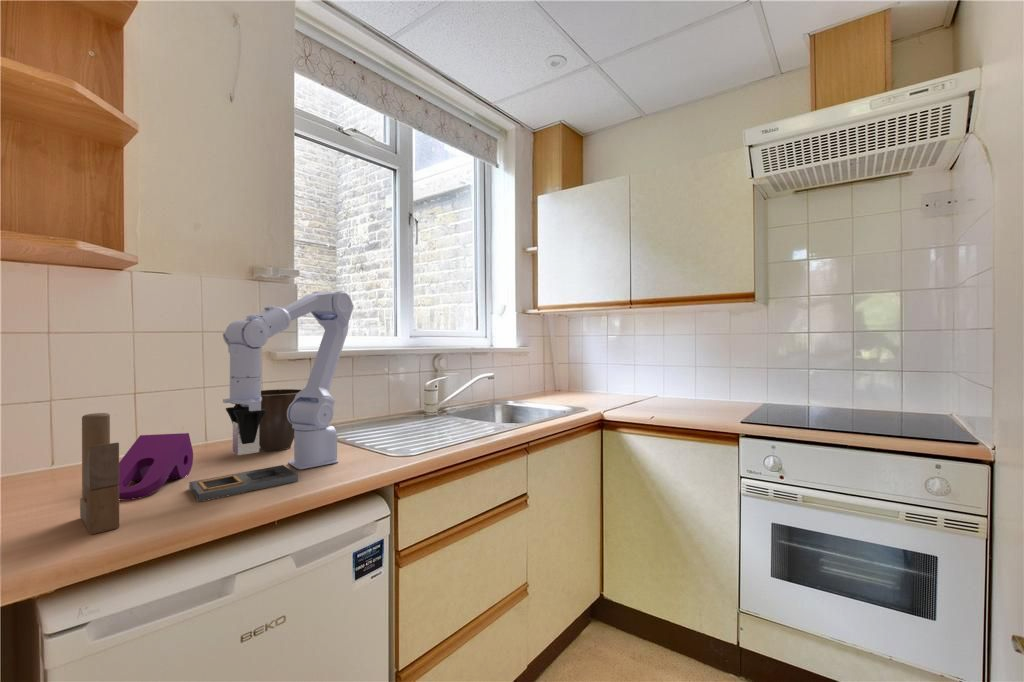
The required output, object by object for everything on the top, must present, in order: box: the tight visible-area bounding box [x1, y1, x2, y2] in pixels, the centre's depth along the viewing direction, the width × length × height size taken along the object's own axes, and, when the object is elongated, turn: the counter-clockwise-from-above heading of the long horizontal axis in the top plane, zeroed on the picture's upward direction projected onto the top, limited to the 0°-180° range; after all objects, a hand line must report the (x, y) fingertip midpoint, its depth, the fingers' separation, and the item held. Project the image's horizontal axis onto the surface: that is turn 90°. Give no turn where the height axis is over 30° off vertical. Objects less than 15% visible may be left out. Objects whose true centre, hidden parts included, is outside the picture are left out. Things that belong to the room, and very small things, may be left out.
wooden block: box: [79, 412, 120, 535], centre depth 76 cm, size 4×11×18 cm, turn 50°
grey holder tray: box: [188, 464, 299, 502], centre depth 96 cm, size 18×10×2 cm, turn 134°
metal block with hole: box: [232, 421, 260, 456], centre depth 96 cm, size 4×4×7 cm
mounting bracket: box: [119, 432, 194, 500], centre depth 96 cm, size 9×8×18 cm
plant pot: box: [259, 388, 302, 452], centre depth 128 cm, size 15×15×16 cm
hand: (245, 441), depth 96 cm, fingers closed on metal block with hole, 4 cm apart
